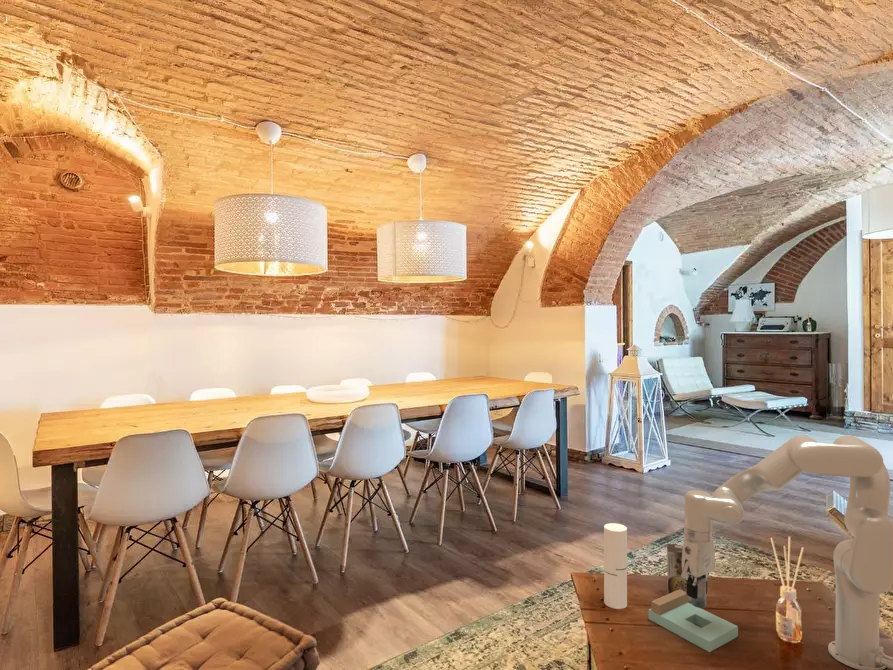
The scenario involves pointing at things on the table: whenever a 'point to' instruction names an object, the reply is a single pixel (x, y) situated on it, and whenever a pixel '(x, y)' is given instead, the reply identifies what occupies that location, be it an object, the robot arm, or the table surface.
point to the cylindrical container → (615, 565)
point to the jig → (691, 621)
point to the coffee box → (675, 569)
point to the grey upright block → (700, 593)
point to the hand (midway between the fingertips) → (696, 594)
